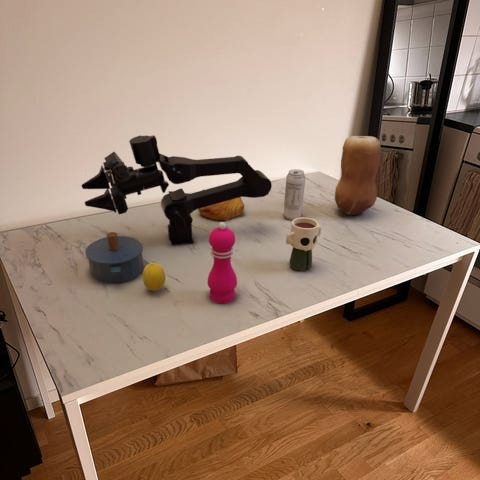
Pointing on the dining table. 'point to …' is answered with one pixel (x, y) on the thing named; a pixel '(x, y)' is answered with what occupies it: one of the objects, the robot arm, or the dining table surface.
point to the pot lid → (114, 249)
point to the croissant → (223, 209)
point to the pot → (117, 271)
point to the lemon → (153, 276)
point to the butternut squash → (358, 174)
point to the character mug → (303, 241)
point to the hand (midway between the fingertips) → (83, 195)
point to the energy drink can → (294, 194)
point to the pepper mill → (222, 265)
